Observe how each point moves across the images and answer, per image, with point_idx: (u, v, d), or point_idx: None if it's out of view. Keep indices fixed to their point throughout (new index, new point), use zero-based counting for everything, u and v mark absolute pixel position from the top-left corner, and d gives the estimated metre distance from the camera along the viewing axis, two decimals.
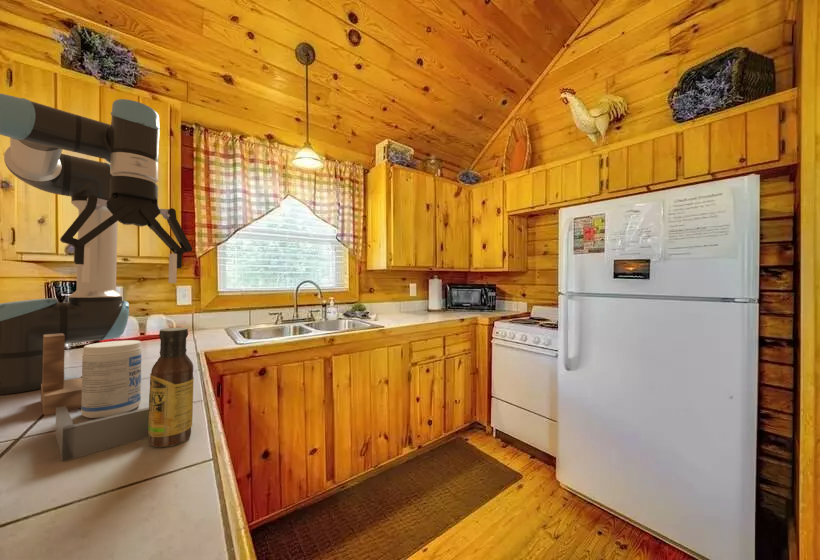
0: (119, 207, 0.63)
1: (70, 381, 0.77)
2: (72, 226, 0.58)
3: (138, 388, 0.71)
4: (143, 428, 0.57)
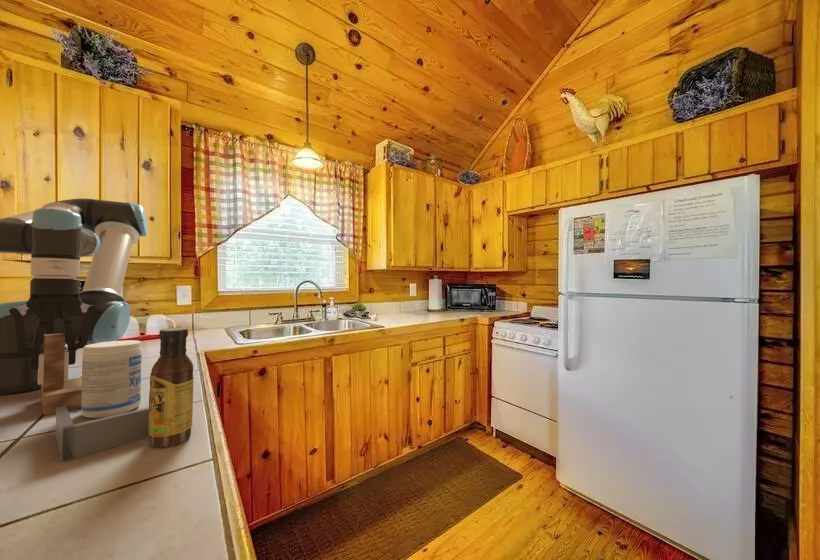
0: (40, 304, 0.70)
1: (70, 381, 0.77)
2: (18, 339, 0.68)
3: (138, 388, 0.71)
4: (143, 428, 0.57)
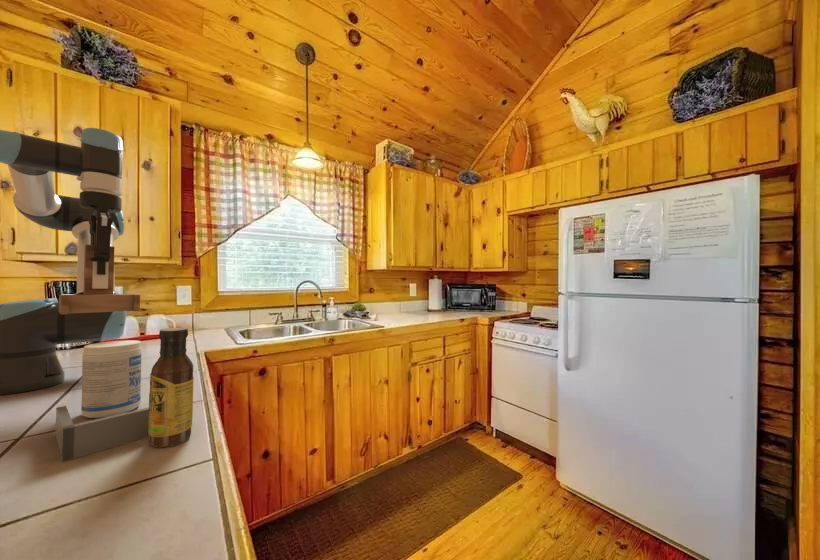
0: None
1: (122, 294, 0.80)
2: None
3: (138, 388, 0.71)
4: (143, 428, 0.57)
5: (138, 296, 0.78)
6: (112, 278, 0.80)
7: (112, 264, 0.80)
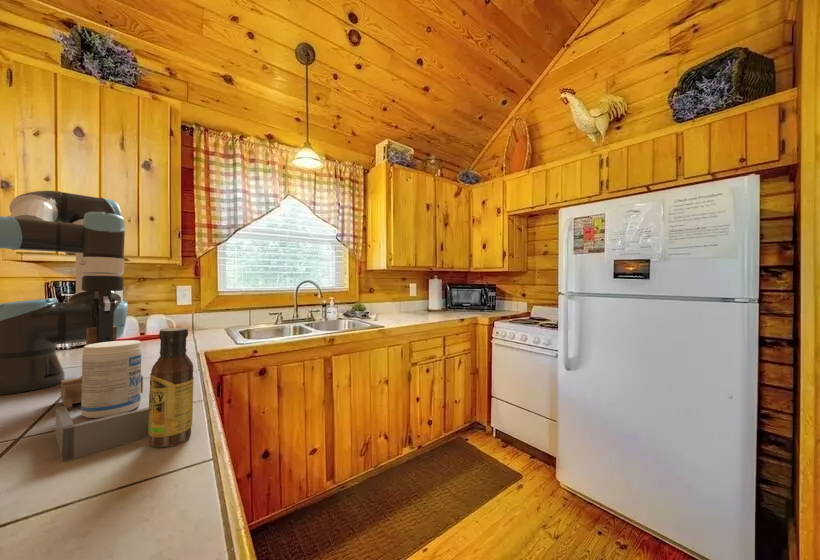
0: (95, 298, 0.80)
1: None
2: None
3: (138, 388, 0.71)
4: (143, 428, 0.57)
5: (141, 378, 0.79)
6: None
7: None
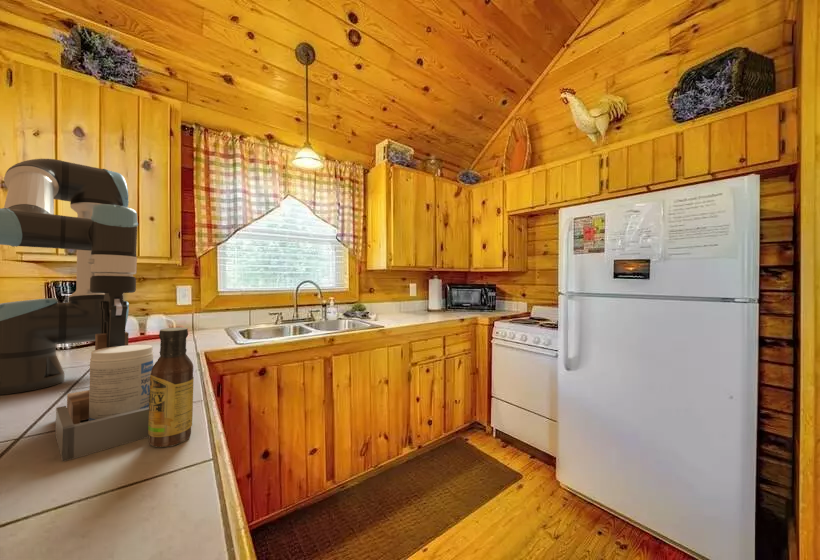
0: (105, 301, 0.72)
1: None
2: (101, 333, 0.73)
3: None
4: (143, 428, 0.57)
5: None
6: None
7: None
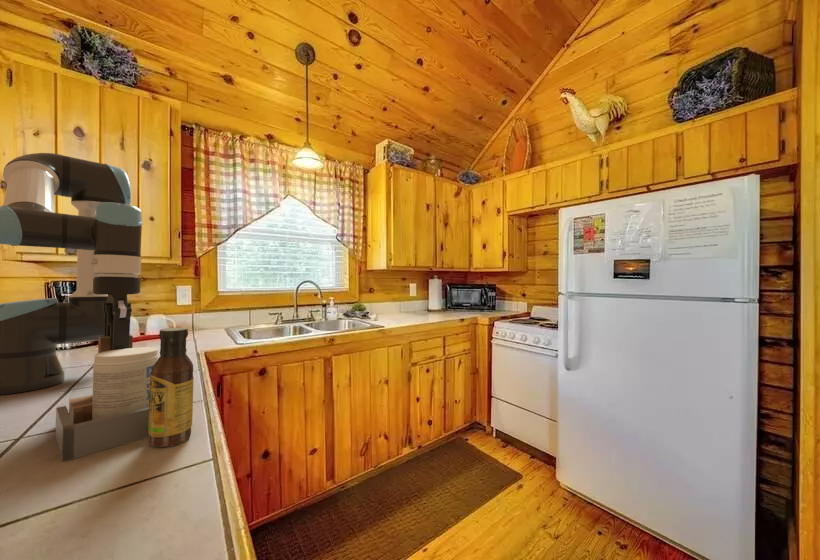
0: (108, 303, 0.69)
1: None
2: (104, 335, 0.71)
3: None
4: (143, 428, 0.57)
5: None
6: None
7: None
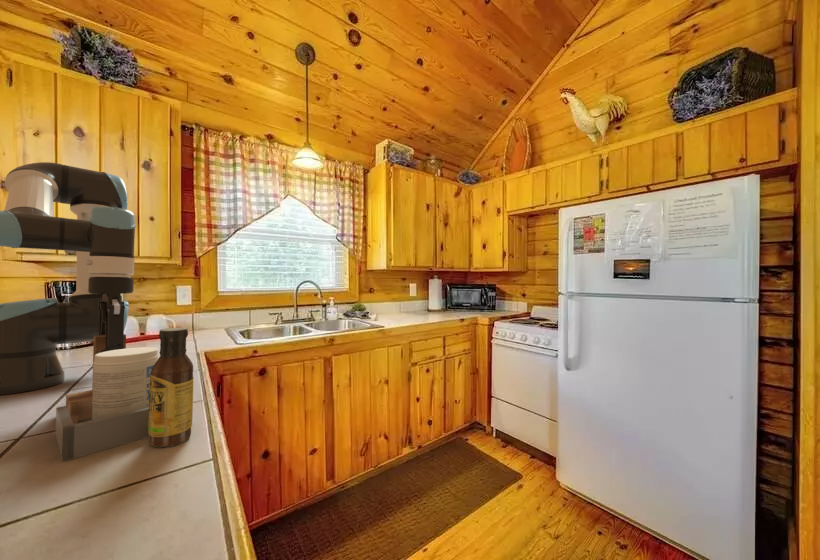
0: (103, 302, 0.73)
1: None
2: (99, 331, 0.75)
3: None
4: (143, 428, 0.57)
5: None
6: None
7: None
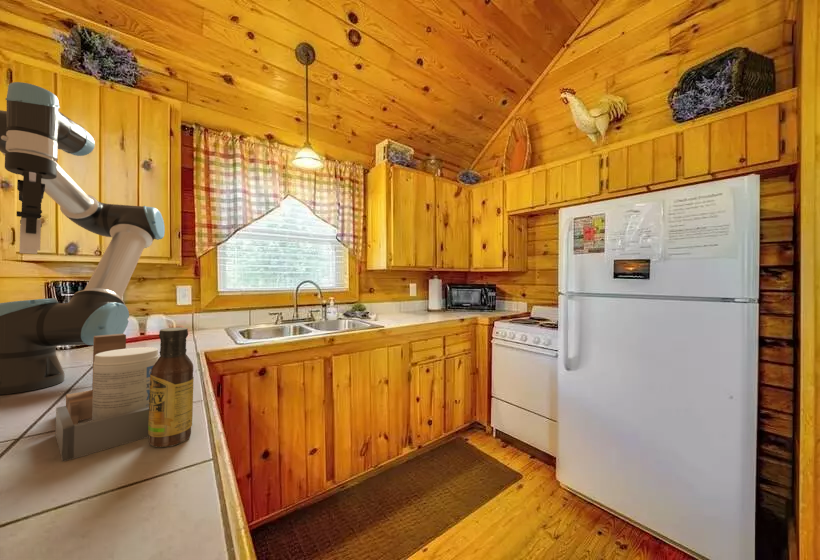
0: None
1: None
2: None
3: None
4: (143, 428, 0.57)
5: None
6: None
7: None
